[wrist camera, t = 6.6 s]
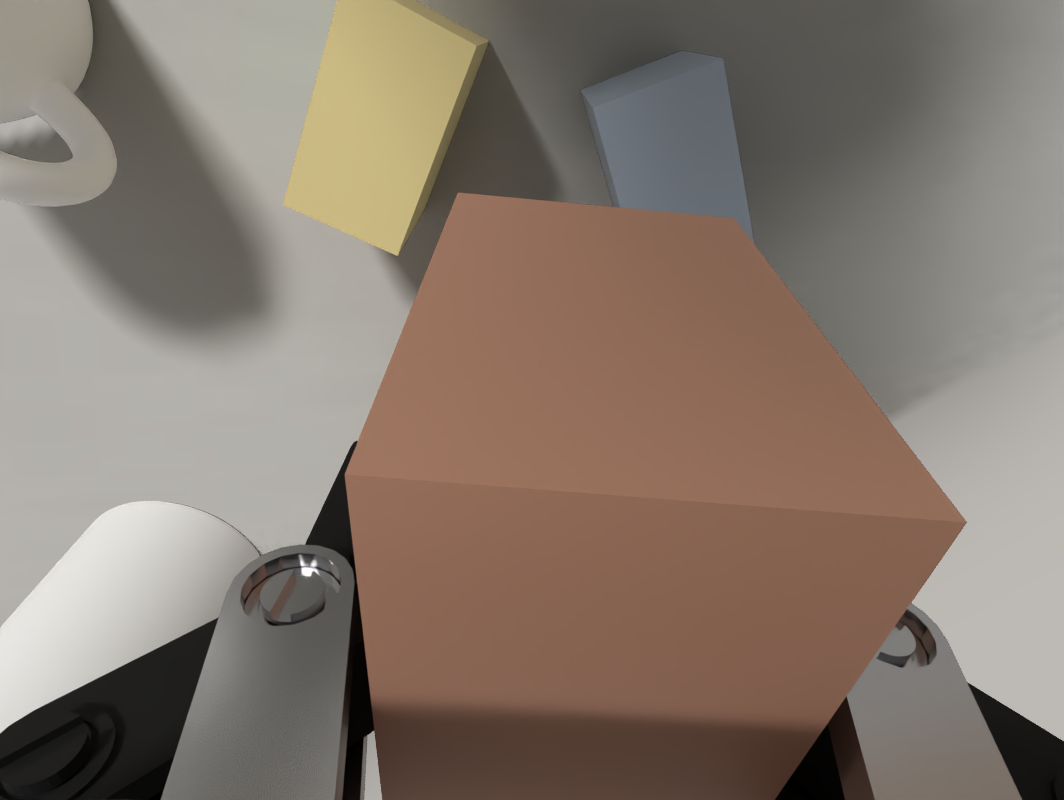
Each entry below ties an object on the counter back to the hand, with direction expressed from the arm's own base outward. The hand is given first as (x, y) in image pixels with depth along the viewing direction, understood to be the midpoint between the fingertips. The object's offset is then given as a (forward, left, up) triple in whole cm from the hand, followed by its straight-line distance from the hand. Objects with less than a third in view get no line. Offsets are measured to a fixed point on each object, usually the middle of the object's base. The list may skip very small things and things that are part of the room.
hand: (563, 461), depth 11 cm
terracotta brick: (-1, 0, -1) cm, 1 cm away
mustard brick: (-3, -6, -18) cm, 19 cm away
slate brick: (-2, +4, -18) cm, 19 cm away
